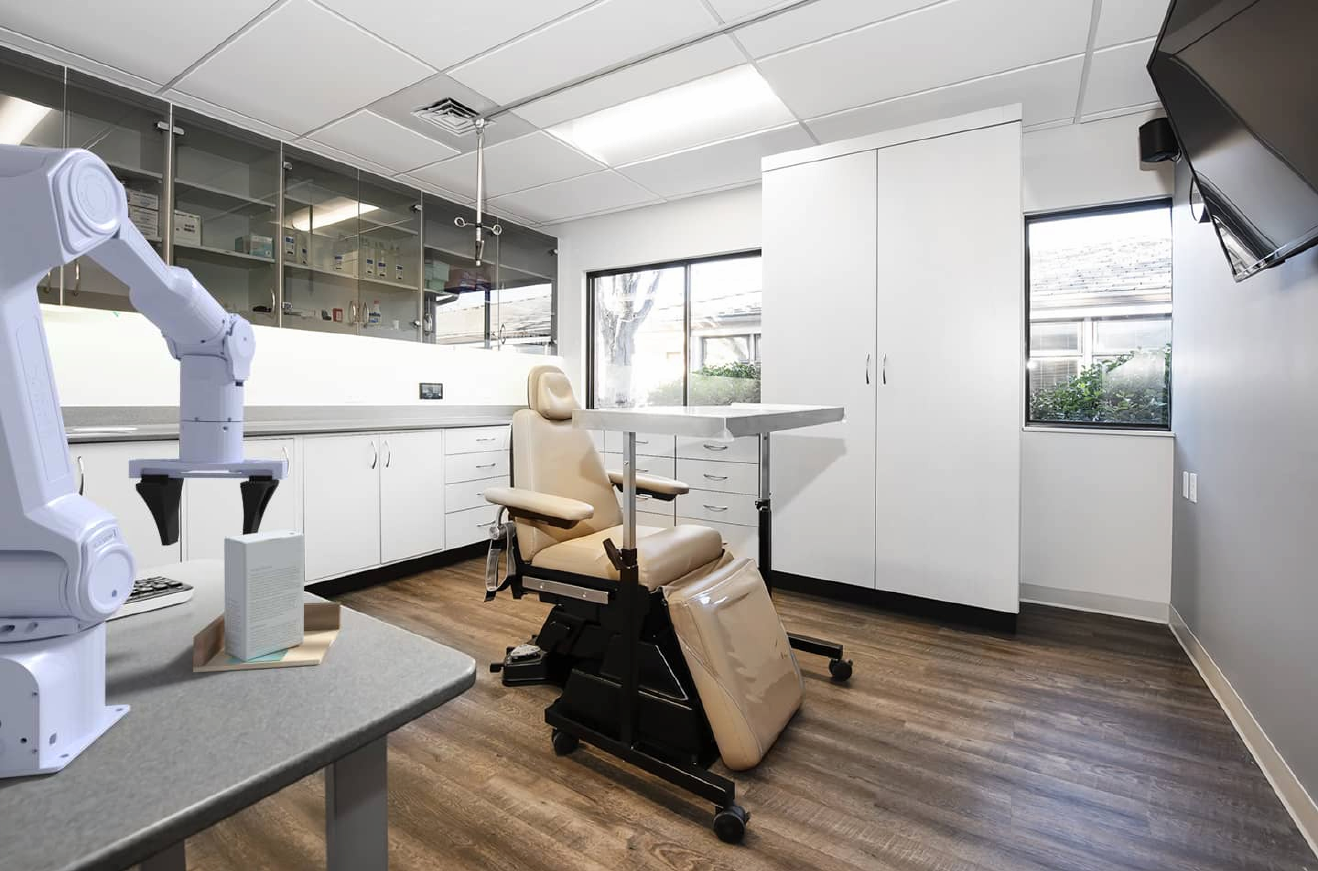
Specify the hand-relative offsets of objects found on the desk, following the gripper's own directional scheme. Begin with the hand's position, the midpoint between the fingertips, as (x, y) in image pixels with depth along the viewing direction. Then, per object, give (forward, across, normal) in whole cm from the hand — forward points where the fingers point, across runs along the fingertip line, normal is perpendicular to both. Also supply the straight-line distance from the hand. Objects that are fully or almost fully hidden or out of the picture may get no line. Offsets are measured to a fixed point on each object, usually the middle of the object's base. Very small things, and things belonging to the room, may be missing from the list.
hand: (210, 543), depth 69 cm
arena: (+10, -8, +6) cm, 14 cm away
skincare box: (+10, -7, +7) cm, 14 cm away
